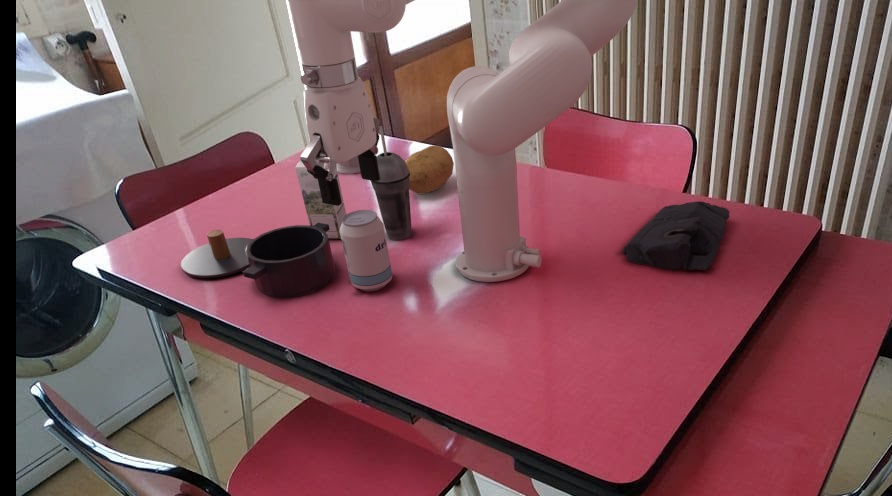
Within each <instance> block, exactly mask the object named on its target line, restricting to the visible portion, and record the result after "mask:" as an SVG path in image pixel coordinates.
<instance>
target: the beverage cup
mask: <svg viewBox="0 0 892 496" xmlns="http://www.w3.org/2000/svg"><path fill="white" fill-rule="evenodd" d="M379 133H380V138H381V144H382V149H383V152H382V153H379V154H377V155H376V156H377V163H378V169H379V175H380V180H379V181H371V180H369V181H370V183H371V186H372V189H373V191H374V193H375V198H376V200H377V204H378V209H379V212H380V216H381V219H382V223H383V226H384V231H385V234H386V236H387V238H388V239H389V240H392V241H404V240H406V239H409V238H410V237H411V236H412V215H411V200H410V198H411V197H410V190H409V182H410V177H409V176H410V172H409V170H408V167H407V164H406V163H405V161H406V160H404V159H403V157H401V156H400V155H399V154H397V153H395V152H392V151H391V152H390V151H388V149H387V145H386V144H387V143H386V139H385V134H384V133H385V132H384V129H383V126H382V125H380V128H379Z"/></svg>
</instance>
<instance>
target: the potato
mask: <svg viewBox="0 0 892 496" xmlns="http://www.w3.org/2000/svg"><path fill="white" fill-rule="evenodd" d="M453 159H454V158H453V157H452V155H451V154H450V152H449V151H448V150H447V149H446V148H444V147H442V146H440V145H430V146H427V147H425V148H422V149H421V150H419V151H416V152H413V153H412V154H410V155H409V156H408V157H407V158H406V159H405V160H404V161H405V163H406V164H407V167H408V170H409V172H410V176H409V177H410V182H409V191H411V192H414V193H416V194H418V195H425V194H428V193H431V192H434V191H436V190H438V189H440V188H441V187H443V186H444V185H445V184H446V183H447V182H448V180H449V179H450V178H451V177H452V175H453V172H454V167H455V162H454V160H453Z"/></svg>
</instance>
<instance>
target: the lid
mask: <svg viewBox="0 0 892 496" xmlns="http://www.w3.org/2000/svg"><path fill="white" fill-rule="evenodd" d="M206 237H207V240H208V242H207V243H205V244H203V245H200V246H198V247H196V248H195V249H193V250H191V251H190V252H188V253H187V254H186V255H185V256H184V257H183V259H181V262H180V267H181V270H182V271H183V273H184V274H185V275H188V276H190V277H192V278H200V279H212V278H220V277H225V276H229V275H232V274H233V275H234V274H236V273H238V272H239V273H240V272H242V271H245V270H246V269H248V268H249V267H250V265H249V262H248V258H247V255H246V252H245V251H246V248H247V245H248V244H249V243H250V242H251V241H252V240H253V239H254V238H249V237H229V238H226V236H225V232H224V230H222V229H214V230H209V232H207V233H206Z"/></svg>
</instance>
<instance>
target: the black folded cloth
mask: <svg viewBox="0 0 892 496" xmlns="http://www.w3.org/2000/svg"><path fill="white" fill-rule="evenodd" d="M729 218H730V210H729V208H727V207H723V206H719V205H716V204H711V203H710V202H705V201H702V200H701V201H690V202H685V203H681V204H670V205H665V206H663V207H662V208H661V209H659V211H658V212H657V213H656V214H655V215H654V217H653V218H651V219H650V220H649V221H648V223H646V224H645V225H643V227H642V228H640V229H639V231H638V232H637V233H635V235H634V236H633V237H632V238H631V239H630V241H629V242H628V243H627V244H626V245H625V246H624V247H623V248H622V251H621V253H622V254H623V255H625V256H626V260H627V262H629V263H633V264H637V265H646V266H650V267H653V268H658V269H661V270H665V271H666V270H667V271H675V272H679V271H688V272H692V271H697V270H700V271H708V270H710V269H711V267H712V266H713V263H714V261H715V260H716V256H717V255H718V251H719V249H720V245H721V242H722V241H723V237H724V235H725V230H726V226H727V221H728V220H729Z"/></svg>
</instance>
